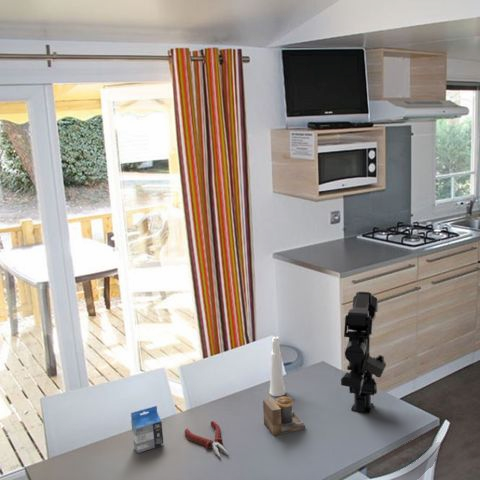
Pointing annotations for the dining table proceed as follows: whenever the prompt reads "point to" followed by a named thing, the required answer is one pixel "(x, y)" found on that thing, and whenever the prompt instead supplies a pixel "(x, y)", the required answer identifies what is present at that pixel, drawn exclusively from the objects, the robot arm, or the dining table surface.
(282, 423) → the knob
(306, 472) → the dining table surface
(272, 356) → the cosmetic bottle
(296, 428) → the mount
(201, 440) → the pliers
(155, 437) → the label tape box
